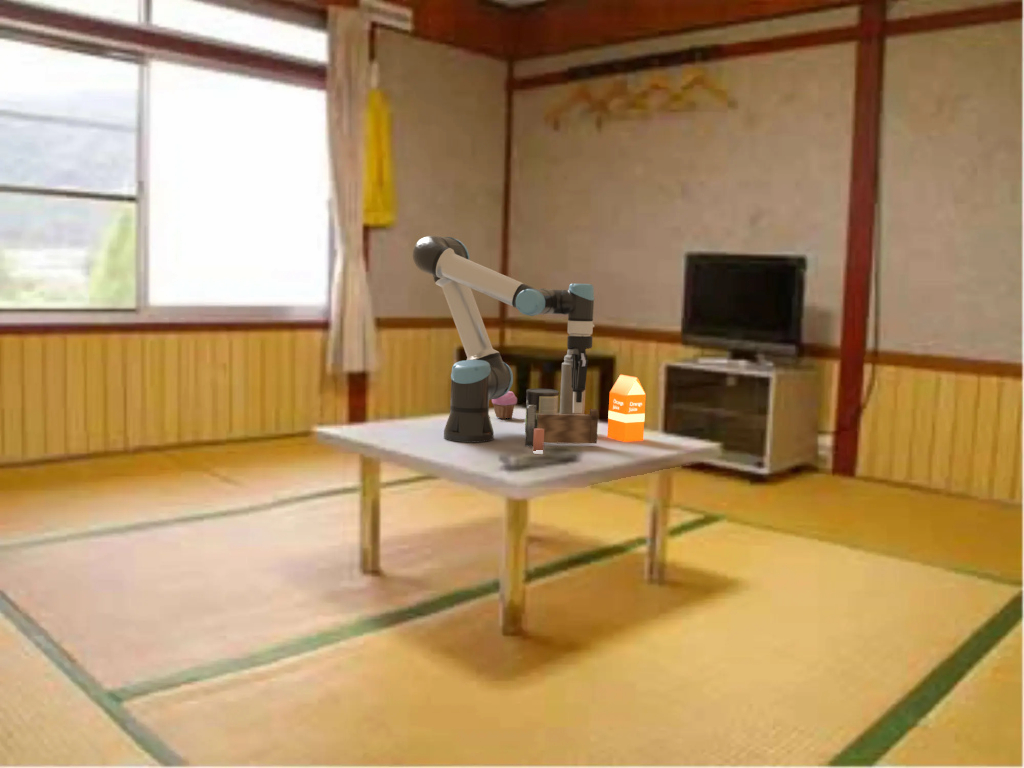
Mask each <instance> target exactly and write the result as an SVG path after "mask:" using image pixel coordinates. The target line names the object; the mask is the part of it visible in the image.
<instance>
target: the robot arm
mask: <svg viewBox="0 0 1024 768" xmlns="http://www.w3.org/2000/svg"><path fill="white" fill-rule="evenodd" d="M412 260H413V263H414V265H415V266H416V267H417V269H419V271H422V272H423V273H426V274H429V275H432V278H433V281H434V283H435V285H437V286H438V287H440V288H441V289H442V292H443V294H444V297H445V299H446V303H447V305H448V309H449V311H450V315H451V317H452V318H453V319H452V320H453V322H454V324H455V327H456V330H457V334H458V336H459V339H460V341H461V345H462V346H463V349H464V352H465V355H466V357H467V358H466V360H459V361H457V362H455V363H453V365H452V367H451V374H450V381H451V382H450V408H449V409H450V411H449V412H450V413H449V415H448V418H447V421H446V424H445V427H444V429H443V438H444V439H445V440H449V441H454V442H461V443H463V442H464V443H482V442H484V443H485V442H489V441H493V440H494V427H493V425H492V422H491V417H490V414H489V410H490V406H489V405H490V400H492V399H497V398H500V397H501V396H503V395H505V394H506V393H507V392H508V391H510V390H511V388H512V386H513V383H514V374H513V370H512V368H511V367H510V366H509V365H508V364H507V363H506V362H504V361H503V359H502V356H501V353H500V351H498V350H496V349H494V348H493V346H492V343H491V339H490V337H489V334H488V332H487V329H486V326H485V323H484V320H483V318H482V315H481V313H480V310H479V307H478V304H477V301H476V299H475V296H474V293H473V291H472V290H474V291H476V292H478V293H481V294H482V295H486V296H488V297H490V298H492V299H495V300H497V301H499V302H502V303H504V304H506V305H509V306H511V307H513V308H516V309H517V310H518V312H520V314H522V315H526V316H529V317H533V316H539V315H541V316H542V315H564V316H565V315H568V318H567V319H568V320H567V334H569V335H568V336H567V342H566V345H567V347H566V348H567V349H568V348H574V350H573V354H572V356H571V358H570V359H571V381H572V385H571V387H572V388H573V413H582V408H583V391H584V390H585V391H586V389H585V385H587V375H588V374H587V373H588V364H589V360H588V355H587V353H586V352H587V351H586V350H588V349H589V350H590V349H592V348H593V336H592V335H593V330H594V329H593V328H595V324H594V308H595V307H594V305H595V296H594V294H595V290H594V286H593V284H591V283H570V284H569V286H568V289H555V288H554V289H550V288H535V287H533V286H530V285H529V284H525V283H524V282H521V281H520V280H519V281H518V280H516V279H514V278H512V277H510V276H508V275H504V274H502V273H500V272H498V271H496V270H494V269H492V268H489V267H486V266H484V265H482V264H480V263H477V262H474V261H472V260H470V253H469V250H468V247H467V246H466V245H465V244H464V242H462V241H460V239H456V238H454V237H452V236H436V235H427V236H426V235H425V236H424V237H422V238H420V239H419V240H418V241H416V243H415V244H414V247H413V249H412Z"/></svg>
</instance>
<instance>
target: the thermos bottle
mask: <svg viewBox="0 0 1024 768" xmlns="http://www.w3.org/2000/svg"><path fill="white" fill-rule="evenodd" d="M573 350H574V348H568V347H567V353H566V355H564V358H563V360H564V361H563V362H562V363H561V379H560V393H559V394H560V396H559V397H560V400H559V414H585V410H586V409H585V407H586V385H587V384H586V385H585V390H584V391H583V408H582V413H573V388H572V387H571V385H572V381H571V359H570V358H571V356H572V354H573Z"/></svg>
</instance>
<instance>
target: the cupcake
mask: <svg viewBox="0 0 1024 768" xmlns="http://www.w3.org/2000/svg"><path fill="white" fill-rule="evenodd" d="M491 403H492V405H493V410H494V413H495V416H496V418H498V417H499V418H498V419H502V420H503V419H504V420H506V418H507V419H508V418H510V419H512V418H513V416H514V415H513V414H514V408H515V405H516V404H517V403H518V398H517V396H516V395H515V393H514V392H513V391H510V390H509V391H508V392H507V393H506V394H505V395H503V396H501V397H500V398H497V399H491ZM508 420H509V419H508Z"/></svg>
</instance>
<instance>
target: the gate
mask: <svg viewBox="0 0 1024 768" xmlns="http://www.w3.org/2000/svg"><path fill="white" fill-rule="evenodd" d="M598 421H599V410H598V409H596V408H590V409H589V413H588V414H587V413H586V414H585V413H584V414H560V413H557V414H537V428H541V429H544V444H545V443H546V444H547V443H548V444H549V443H550V444H553V443H554V444H597V442H598V426H599V425H598Z"/></svg>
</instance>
